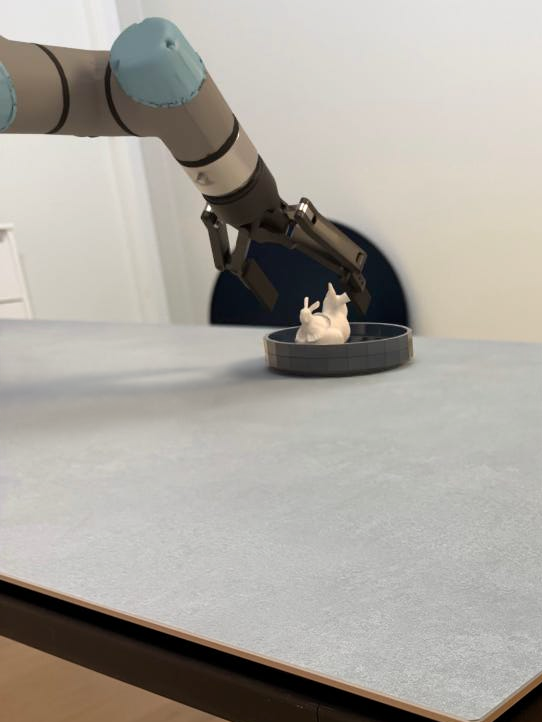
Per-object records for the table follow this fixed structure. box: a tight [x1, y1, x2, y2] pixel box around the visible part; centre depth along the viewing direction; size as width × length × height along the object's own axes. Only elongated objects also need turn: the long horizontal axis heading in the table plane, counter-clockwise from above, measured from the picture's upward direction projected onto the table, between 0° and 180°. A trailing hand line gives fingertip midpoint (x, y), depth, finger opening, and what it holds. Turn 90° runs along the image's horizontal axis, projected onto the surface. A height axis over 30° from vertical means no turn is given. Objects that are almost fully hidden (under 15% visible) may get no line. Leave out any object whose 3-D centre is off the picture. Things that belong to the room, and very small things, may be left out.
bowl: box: [262, 322, 414, 377], centre depth 125 cm, size 19×19×4 cm
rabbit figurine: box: [295, 282, 351, 344], centre depth 122 cm, size 12×8×10 cm, turn 148°
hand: (318, 304), depth 120 cm, fingers open, 13 cm apart
